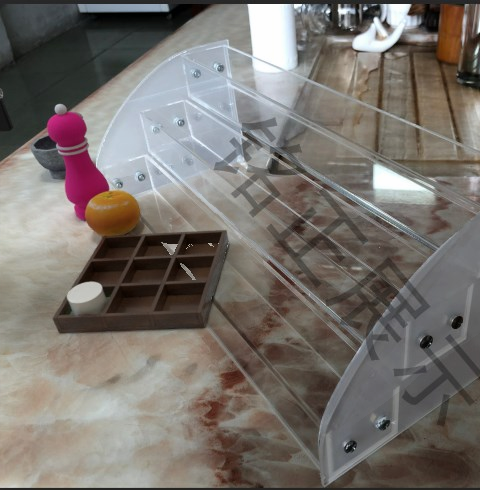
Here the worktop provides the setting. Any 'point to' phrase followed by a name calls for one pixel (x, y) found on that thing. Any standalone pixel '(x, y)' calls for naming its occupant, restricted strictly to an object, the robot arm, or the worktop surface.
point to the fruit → (112, 213)
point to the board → (150, 282)
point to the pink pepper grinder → (76, 159)
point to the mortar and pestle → (49, 156)
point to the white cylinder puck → (87, 298)
